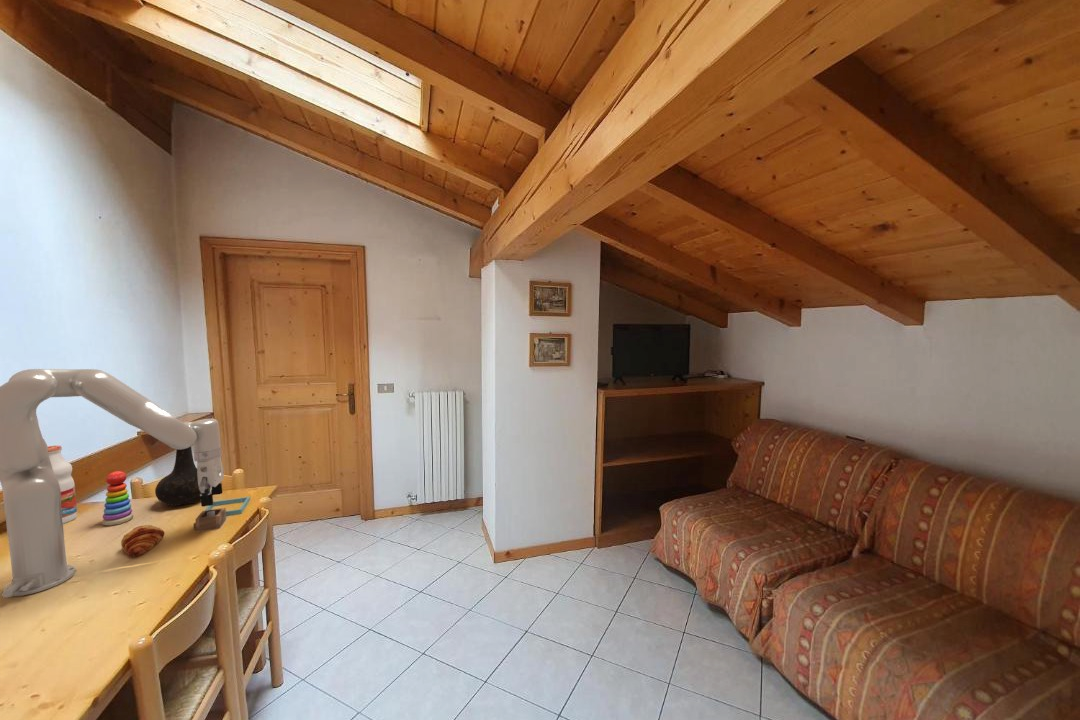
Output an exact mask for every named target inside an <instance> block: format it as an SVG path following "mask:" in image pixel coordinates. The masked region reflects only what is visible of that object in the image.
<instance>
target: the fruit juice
mask: <svg viewBox="0 0 1080 720" xmlns="http://www.w3.org/2000/svg"><path fill="white" fill-rule="evenodd" d="M47 447H48V455H49V458H50V462H51V465H52V469H53V472H54V474H55V477H56V478H57V480H58V482H59V485H60V490H61V512H62V523H63V524H66V523H69V522H72V521H73V520H75V519H77V517H78V508H77V506H78V505H77V495H76V484H75V481H74V478H73V476H72V472H73V466H72V464H71V462H69V461H67V460H66V459H64V457H63V455H62V452H61V451H62V449H63V447H62V445H50V446H49V445H48V446H47Z"/></svg>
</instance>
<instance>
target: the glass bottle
mask: <svg viewBox="0 0 1080 720" xmlns="http://www.w3.org/2000/svg"><path fill="white" fill-rule="evenodd" d="M175 450H176V451H175V460H174V465H173V468H172V471H171V473H169V474H168V475H166V476H164V477H163V478H161V480H159V482H158V483H156V486H155V489H154V493H155V496H156V497H155V498H157V500H158V501H159V502H161V503H162V504H164V505H168V506H182V505H183V506H185V505H188V504H193V503H194V502H197V501H201V497H200V490H199V485H198V476H197V466H196V464H195V461H194V455H193V448H192V446H191V447H189V448H186V449H181V450H179V449H175ZM206 486H210V485H206ZM207 490H209V488H208V489H207ZM192 502H193V503H192Z"/></svg>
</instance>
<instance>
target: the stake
mask: <svg viewBox="0 0 1080 720" xmlns="http://www.w3.org/2000/svg"><path fill="white" fill-rule="evenodd" d="M214 515H215V511H209V512H207V516H214ZM228 518H229V516H226V520H225V522H226V521H227V520H228ZM225 522H224V523H223V525H224V524H225ZM223 525H222V526H221V527H220V528H217V529H221V528H222V527H223ZM217 529H216V530H217ZM211 530H213V529H210V530H209V531H211ZM205 531H206V530H204V531H203V532H205ZM197 532H200V531H197ZM197 532H196V533H197Z"/></svg>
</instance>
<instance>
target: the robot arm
mask: <svg viewBox="0 0 1080 720" xmlns="http://www.w3.org/2000/svg"><path fill="white" fill-rule="evenodd" d="M70 397H71V398H72V397H81V398H84V399H86V400H87V401H89V402H90V403H92V404H94V405H96V407H99V408H101V409H103V410H104V411H106V412H107V413H109V414H110V415H112V416H114V417H115V418H118V419H120V420H121V421H122V422H125V423H126V424H128V425H130V426H132V427H135V428H136V429H139V430H141V431H142V432H145V434H148V435H149V436H152V437H153V438H155V439H156V440H158V441H160V442H162V443H163V444H165V445H166V446H169V447H170V448H171V449H174V450H176V449H179V450H181V449H186V448H189V447H191V448H192V452H193V461H194V462H196V465H197V466H196V468H197V476H198V485H199V490H200V497H201V499H200V506H201V507H208V506H210V505H213V501H214V497H213V496H216V495H221V494H223V486H222V485H223V483H222V481H223V480H224V478H225V474H224V468H223V467H224V466H223V462H222V458H221V457H222V456H223V455H222V447H221V445H222V444H221V435H220V425H219V421H218V420H217V419H215V418H204V419H203V418H202V419H198V420H194V421H184V422H182V421H181V420H179V419H178V418H176V417H174V416H173V415H172V414H170V413H168V412H167V411H165V410H164V409H163V408H161V407H160V406H158V405H157V404H156V403H155V402H154V401H152V400H150V399H149V398H148V397H146V396H144V395H143V394H142V393H140V392H138V391H136V390H135V389H133V388H132V387H130V386H129V385H127V384H125V382H122V380H119V379H118V378H116V377H115V376H113V375H111V374H110V373H108V372H106V371H103V370H100V369H95V368H90V369H89V368H87V369H86V368H84V369H83V368H80V369H79V368H78V369H77V368H75V369H74V368H73V369H66V368H62V369H61V368H60V369H59V368H58V369H57V368H56V369H55V368H54V369H52V368H50V369H49V368H31V369H24V370H20V371H19V372H18V371H17V372H16V373H15V374H13V375H11V377H10V378H9V379H8V381H7V382H5V383H3V384H2V385H0V486H1V488H2V499H3V505H4V506H3V507H4V514H5V521H6V523H5V524H6V532H7V537H8V546H9V547H8V548H9V557H10V565H11V574H12V579H11V582H10V583H9V584H8V585H6V586H5V588H4V589H3V592H2V593H1V595H2V597H3V598H10V597H22V596H28V595H32V594H35V593H40V592H42V591H45V590H47V589H52V588H54V587H55V586H58V585H60V584H62V583H64V582H66V581H68V580H70V578H72V577H73V576H74V575H75V574H76V571H77V570H76V567H75V566H74V565H71V564H67V555H66V554H67V553H66V543H65V541H66V540H65V532H64V531H65V530H64V523H62V512H61V490H60V485H59V482H58V480H57V478H56V477H55V474H54V472H53V469H52V465H51V462H50V458H49V455H48V447H49V446H48V445H47V442H46V441H45V438H43V437H44V436H43V435H42V432H41V428H40V425H39V419H38V415H37V409H38V406H39V405H40V404H42V403H43V402H45V401H46V400H48V399H50V398H70ZM206 485H210V486H206ZM208 488H209V490H207V489H208Z"/></svg>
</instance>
